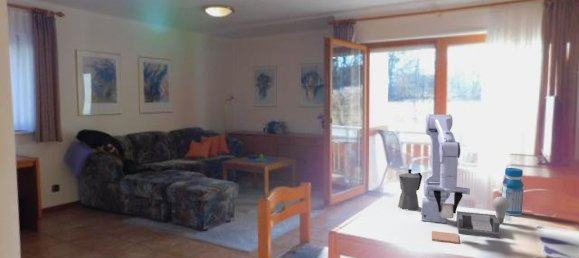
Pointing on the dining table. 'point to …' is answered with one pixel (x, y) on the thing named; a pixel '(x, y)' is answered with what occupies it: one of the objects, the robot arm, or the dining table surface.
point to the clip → (481, 222)
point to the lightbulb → (500, 207)
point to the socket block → (465, 222)
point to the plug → (447, 210)
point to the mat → (445, 237)
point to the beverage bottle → (513, 190)
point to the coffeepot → (409, 190)
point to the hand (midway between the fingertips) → (446, 212)
